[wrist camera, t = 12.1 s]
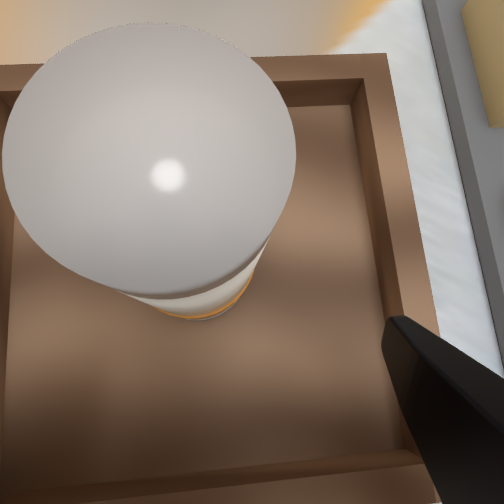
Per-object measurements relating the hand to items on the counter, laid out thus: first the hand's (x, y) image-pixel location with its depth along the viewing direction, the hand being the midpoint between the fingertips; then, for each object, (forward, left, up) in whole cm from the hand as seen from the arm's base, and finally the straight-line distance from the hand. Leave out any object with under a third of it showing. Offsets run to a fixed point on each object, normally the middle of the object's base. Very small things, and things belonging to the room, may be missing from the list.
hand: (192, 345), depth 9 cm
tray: (+3, +1, -8) cm, 8 cm away
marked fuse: (+3, +1, -7) cm, 8 cm away
